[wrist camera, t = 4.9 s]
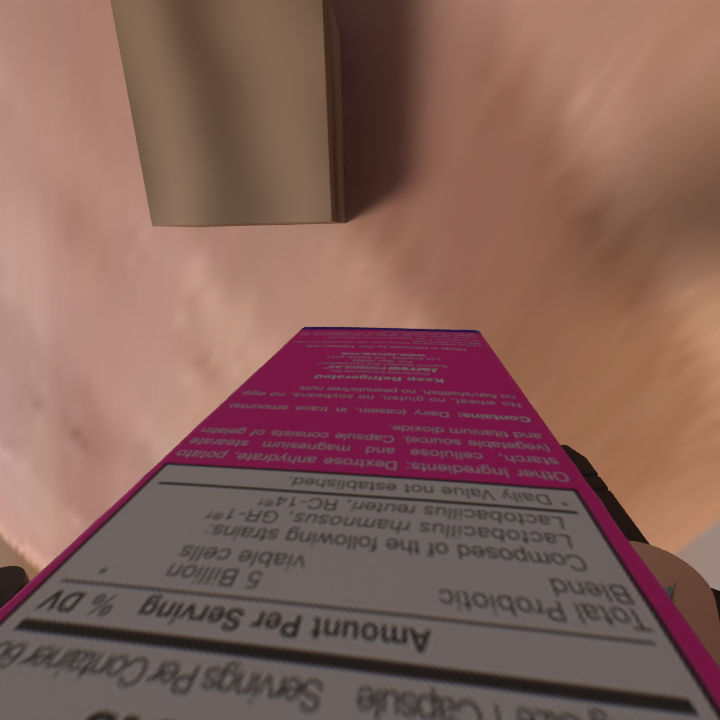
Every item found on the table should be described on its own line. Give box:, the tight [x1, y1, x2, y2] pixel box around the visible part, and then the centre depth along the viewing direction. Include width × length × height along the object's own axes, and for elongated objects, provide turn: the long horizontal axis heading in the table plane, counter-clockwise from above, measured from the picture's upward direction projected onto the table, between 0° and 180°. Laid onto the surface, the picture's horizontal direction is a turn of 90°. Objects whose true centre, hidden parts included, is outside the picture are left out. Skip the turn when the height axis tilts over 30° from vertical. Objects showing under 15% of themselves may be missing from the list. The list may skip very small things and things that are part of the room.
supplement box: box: [0, 327, 720, 720], centre depth 7 cm, size 6×6×12 cm
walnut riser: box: [111, 0, 346, 227], centre depth 21 cm, size 10×10×5 cm
